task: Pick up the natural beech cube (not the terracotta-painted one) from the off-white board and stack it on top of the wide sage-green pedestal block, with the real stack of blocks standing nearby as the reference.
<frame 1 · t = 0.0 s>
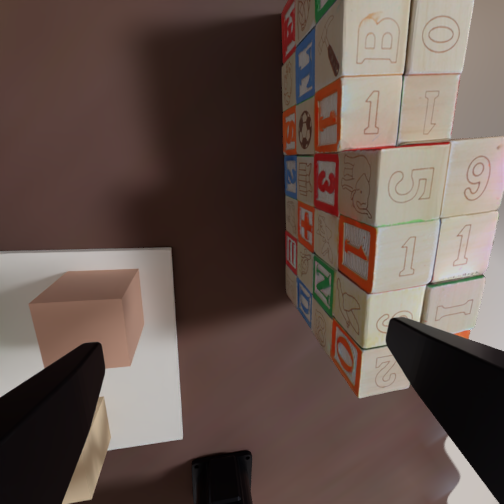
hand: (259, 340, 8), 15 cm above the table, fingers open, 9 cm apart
board: (28, 365, 23), on the table
beech cube: (77, 421, 24), point 1 cm above the table, touching board
terracotta cube: (108, 299, 21), point 1 cm above the table, touching board
stack of blocks: (317, 172, 22), on the table
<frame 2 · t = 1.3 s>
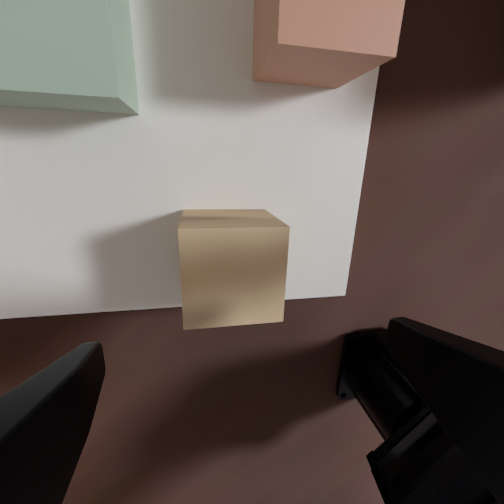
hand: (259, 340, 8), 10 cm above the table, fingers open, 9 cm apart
pedestal: (51, 26, 13), point 1 cm above the table, touching board
board: (171, 146, 16), on the table
beech cube: (225, 248, 17), point 1 cm above the table, touching board
terracotta cube: (299, 31, 14), point 1 cm above the table, touching board
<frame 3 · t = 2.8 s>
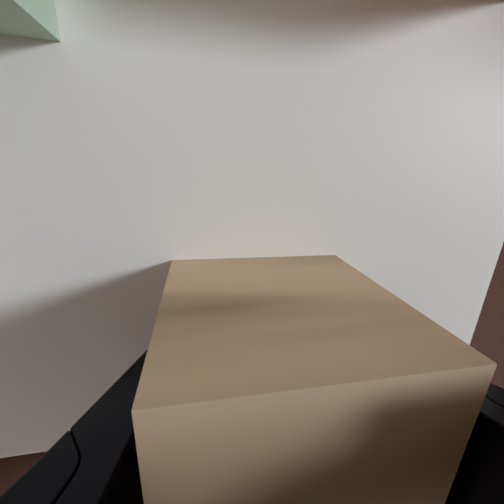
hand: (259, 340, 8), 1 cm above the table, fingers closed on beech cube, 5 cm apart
board: (146, 126, 7), on the table
beech cube: (255, 329, 9), point 1 cm above the table, touching board, gripper
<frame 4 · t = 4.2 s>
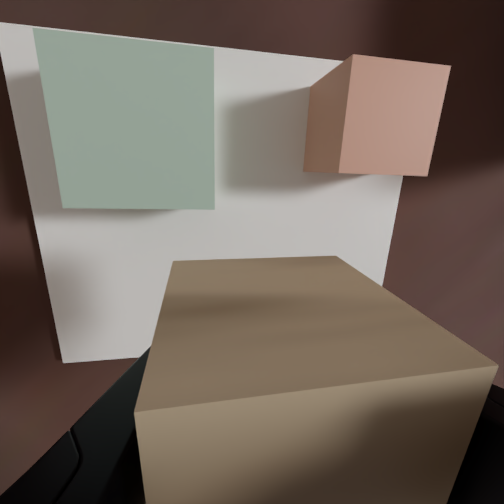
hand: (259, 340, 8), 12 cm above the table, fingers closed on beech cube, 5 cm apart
pedestal: (151, 139, 16), point 1 cm above the table, touching board
board: (233, 221, 19), on the table
beech cube: (256, 329, 9), point 11 cm above the table, touching gripper
terracotta cube: (342, 133, 18), point 1 cm above the table, touching board
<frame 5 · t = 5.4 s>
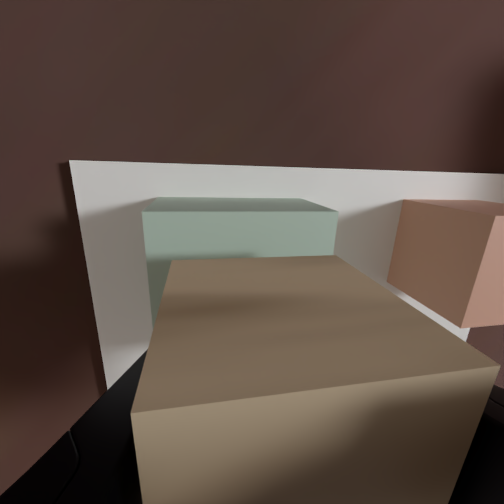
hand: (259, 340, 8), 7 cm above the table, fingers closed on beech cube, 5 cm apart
pedestal: (232, 264, 14), point 1 cm above the table, touching board
board: (308, 331, 17), on the table
beech cube: (255, 329, 9), point 6 cm above the table, touching gripper
terracotta cube: (431, 241, 16), point 1 cm above the table, touching board
when the fingers open (6 cm above the table, at t = 5.9 s): beech cube stays where it is, resting on pedestal.
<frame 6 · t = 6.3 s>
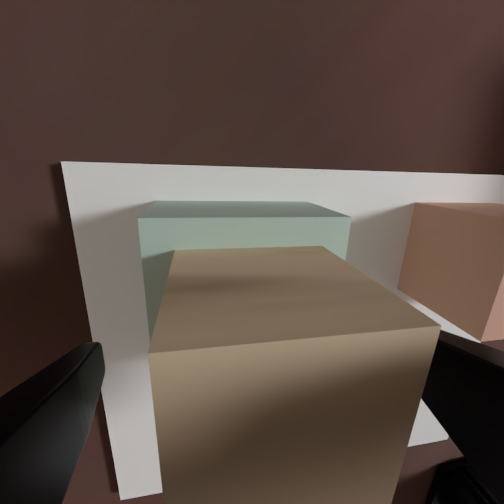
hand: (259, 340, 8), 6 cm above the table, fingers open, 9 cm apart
pedestal: (235, 271, 14), point 1 cm above the table, touching beech cube, board
board: (314, 340, 17), on the table
beech cube: (250, 313, 10), point 5 cm above the table, touching pedestal
terracotta cube: (444, 246, 15), point 1 cm above the table, touching board
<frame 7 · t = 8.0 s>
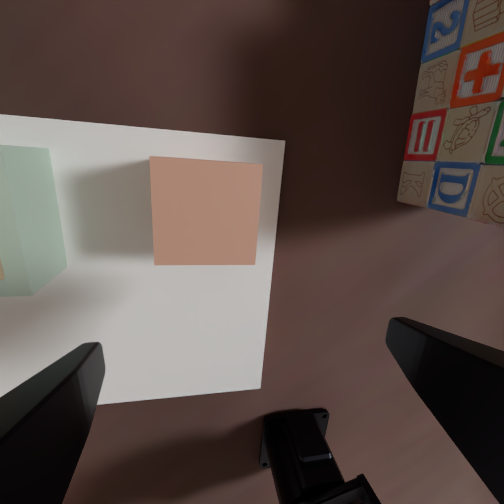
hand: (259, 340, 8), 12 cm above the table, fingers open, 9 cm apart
board: (99, 283, 18), on the table
terracotta cube: (204, 200, 17), point 1 cm above the table, touching board
stack of blocks: (459, 41, 18), on the table
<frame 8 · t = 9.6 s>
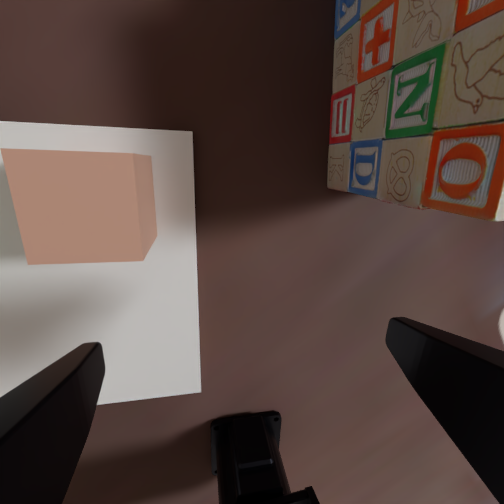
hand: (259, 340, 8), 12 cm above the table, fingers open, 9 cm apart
board: (11, 287, 18), on the table
terracotta cube: (112, 197, 17), point 1 cm above the table, touching board
stack of blocks: (375, 15, 17), on the table
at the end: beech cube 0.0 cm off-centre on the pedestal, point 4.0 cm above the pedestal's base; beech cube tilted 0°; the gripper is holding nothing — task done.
